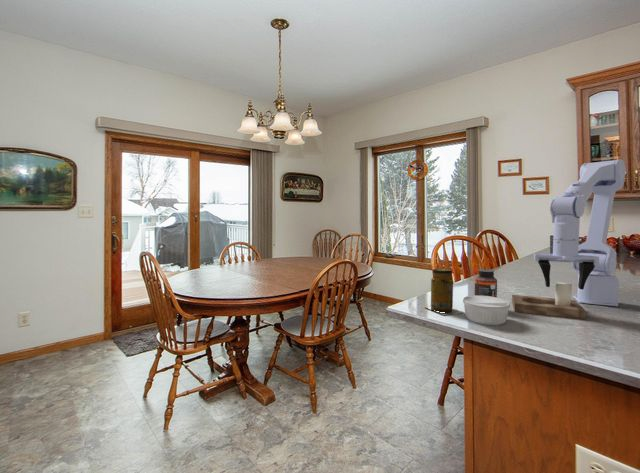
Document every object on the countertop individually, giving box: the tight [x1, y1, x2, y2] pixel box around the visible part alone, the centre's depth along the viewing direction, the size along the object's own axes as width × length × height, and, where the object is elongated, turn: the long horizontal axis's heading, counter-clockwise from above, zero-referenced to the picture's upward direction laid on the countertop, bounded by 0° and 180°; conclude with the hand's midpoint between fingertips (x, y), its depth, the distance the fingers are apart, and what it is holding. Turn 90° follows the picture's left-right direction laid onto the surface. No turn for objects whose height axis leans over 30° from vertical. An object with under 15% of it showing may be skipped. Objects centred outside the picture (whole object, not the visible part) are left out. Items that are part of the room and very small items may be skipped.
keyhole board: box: [511, 294, 586, 320], centre depth 94 cm, size 16×11×2 cm
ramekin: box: [462, 295, 511, 326], centre depth 87 cm, size 11×11×5 cm
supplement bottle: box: [474, 268, 498, 298], centre depth 97 cm, size 6×6×11 cm
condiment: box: [430, 267, 465, 316], centre depth 95 cm, size 7×8×12 cm
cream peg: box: [554, 282, 573, 306], centre depth 93 cm, size 4×4×8 cm
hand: (564, 287), depth 92 cm, fingers open, 7 cm apart
